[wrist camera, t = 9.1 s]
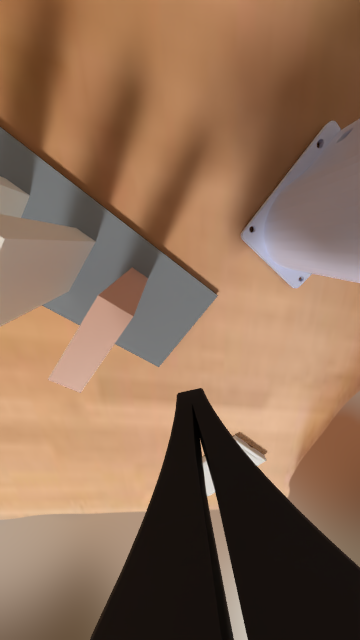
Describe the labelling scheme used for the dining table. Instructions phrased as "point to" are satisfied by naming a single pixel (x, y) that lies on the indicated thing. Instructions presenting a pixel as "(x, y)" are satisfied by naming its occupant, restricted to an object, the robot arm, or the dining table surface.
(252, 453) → the external hard drive
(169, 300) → the mat
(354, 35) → the dining table surface
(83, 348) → the domino
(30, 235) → the domino
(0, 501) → the dining table surface
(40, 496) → the dining table surface
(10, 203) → the domino
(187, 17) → the dining table surface
